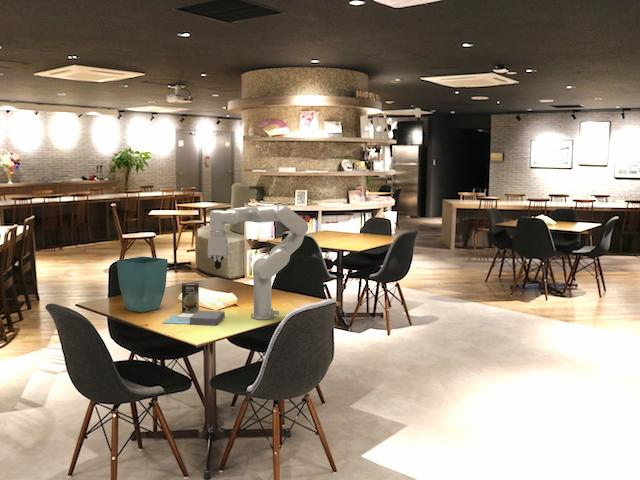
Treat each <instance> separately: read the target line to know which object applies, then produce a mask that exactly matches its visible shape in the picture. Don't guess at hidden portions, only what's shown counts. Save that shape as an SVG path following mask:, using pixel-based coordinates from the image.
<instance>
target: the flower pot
mask: <svg viewBox="0 0 640 480" xmlns="http://www.w3.org/2000/svg"><path fill="white" fill-rule="evenodd" d="M168 262H169V260H168V258H160V257H152V256H145V255H143V256H136V257H129V258H123V259H118V260H116V269H117V276H118V277H117V278H118V285H119V286H118V287H119V291H120V294H121V298H122V300H123V303H124V305H125V307H126V310H128V311H131V312H138V313H147V312H151V311H154V310H159V308H160V306H161V304H162V301H163V298H164V295H165V291H166V287H167V286H166V285H167V274H168V273H167V271H168Z"/></svg>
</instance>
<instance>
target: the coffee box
mask: <svg viewBox="0 0 640 480" xmlns="http://www.w3.org/2000/svg"><path fill="white" fill-rule="evenodd" d="M199 287H200V286H199V283H198V282H182V283H181V314H182V313H187V314H195V313H197V312H198V311H199V310H200V309H199V307H200V306H199V302H200V301H199V298H200V296H199V294H200V289H199Z"/></svg>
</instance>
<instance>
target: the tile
mask: <svg viewBox="0 0 640 480" xmlns="http://www.w3.org/2000/svg"><path fill="white" fill-rule="evenodd" d="M178 315H179V316H177V321H190V317H191V316H193V315H194V314H187V313H182V312H181V313H180V314H178Z"/></svg>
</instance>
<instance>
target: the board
mask: <svg viewBox="0 0 640 480" xmlns="http://www.w3.org/2000/svg"><path fill="white" fill-rule="evenodd" d="M225 318H226V311H224V310H201V309H199V311H198V312H197V313H195V314H194V315H193V316H191V317H190V324H189V325H195V326H196V325H197V326H218V325H219V324H220V323H221V322H222V321H224V319H225Z"/></svg>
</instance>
